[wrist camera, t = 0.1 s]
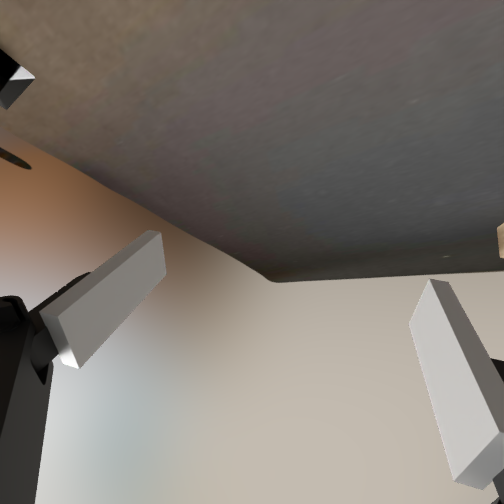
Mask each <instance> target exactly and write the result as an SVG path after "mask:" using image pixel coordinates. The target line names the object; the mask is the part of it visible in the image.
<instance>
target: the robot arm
mask: <svg viewBox="0 0 504 504" xmlns="http://www.w3.org/2000/svg"><path fill="white" fill-rule="evenodd" d="M166 274H167V273H166V266H165V259H164V251H163V244H162V237H161V232H157V231H151V230H147V231H146V232H145V233H144V234H142V235H141V236H139V237H138V238H137V239H135V240H134V241H133V242H132V243H130V244H129V245H128V246H126V247H125V248H123V249H122V250H121V251H119V252H118V253H117V254H115V255H114V256H113V257H112V258H110V259H109V260H108V261H106V262H105V263H103V264H102V265H101V266H99V267H98V268H97V269H95V270H94V271H93V272H88V273H85V274H83V275H81V276H78V277H76V278H75V279H73V280H72V281H71V282H69V283H68V284H67V285H66V286H64V287H62V288H61V289H60V290H59V291H58V292H55V293H54V294H53V295H51V296H50V297H49V298H47V299H46V300H44V301H43V302H42V303H40V304H39V305H38V306H36V307H35V308H33V309H32V310H31V311H29V312H28V311H27V309H26V307H25V305H24V303H23V300H22V299H21V298H20V297H18V296H3V297H0V504H35V497H36V490H37V483H38V476H39V468H40V461H41V454H42V446H43V439H44V432H45V424H46V418H47V411H48V404H49V396H50V389H51V382H52V375H53V362H52V360H53V359H54V358H55V357H56V356H57V355H58V354H59V356H60V358H61V361H62V363H63V364H65V365H68V366H71V367H75V368H78V369H80V368H81V367H82V366H83V365H84V363H85V362H86V361H87V360H88V359H89V358H90V357H91V356H92V355H93V354H94V352H96V350H97V349H98V348H99V347H100V346H101V345H102V344H103V343H104V342H105V341H106V340H107V338H108V337H109V336H110V335H111V334H112V333H113V332H114V331H115V330H116V329H117V328H118V326H119V325H120V324H121V323H122V322H123V321H124V320H125V319H126V318H127V317H128V316H129V315H130V314H131V312H132V311H133V310H134V309H135V308H136V307H137V306H138V305H139V304H140V303H141V301H143V299H144V298H145V297H146V296H147V295H148V294H149V293H150V292H151V291H152V290H153V289H154V287H155V286H156V285H157V284H158V283H159V282H160V281H161V280H162V279H163V278H164V276H165V275H166ZM409 327H410V331H411V334H412V338H413V341H414V345H415V348H416V352H417V355H418V359H419V362H420V365H421V369H422V373H423V376H424V380H425V383H426V387H427V390H428V394H429V397H430V401H431V404H432V408H433V411H434V415H435V418H436V422H437V424H438V429H439V432H440V436H441V439H442V443H443V446H444V450H445V453H446V456H447V460H448V464H449V467H450V470H451V474H452V477H453V481H455V482H458V483H461V484H465V485H468V486H471V487H474V488H478V489H481V490H483V489H484V488H485V487H487V486H488V485H489V484H490V483H491V482H492V481H493V482H494V484H495V487H496V489H497V492H498V495H499V497H498V498H497V499H496V500H495V501H494V502H492V503H491V504H504V361H501V360H496V359H491V358H490V357H489V355H488V353H487V351H486V350H485V348H484V346H483V344H482V342H481V341H480V339H479V337H478V335H477V333H476V331H475V330H474V328H473V326H472V324H471V322H470V321H469V319H468V317H467V315H466V313H465V311H464V310H463V308H462V306H461V304H460V303H459V301H458V299H457V297H456V295H455V293H454V291H453V290H452V288H451V286H450V284H449V282H445V281H439V280H434V279H429V280H428V282H427V284H426V287H425V289H424V291H423V293H422V296H421V298H420V300H419V302H418V304H417V307H416V309H415V311H414V313H413V315H412V318H411V320H410V322H409Z"/></svg>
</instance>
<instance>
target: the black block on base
mask: <svg viewBox="0 0 504 504" xmlns="http://www.w3.org/2000/svg"><path fill="white" fill-rule="evenodd" d="M34 79H35V77H34V76H33V75H32V74H30V73H29V72H28V71H27V70H26V69H24V68H23V67H22V66H21V65H19V64H18V63H17V62H16V61H15V60H13V59H12V58H11V57H10V56H8V55H7V54H6V53H5V52H3V51H2V50H1V49H0V106H1V107H3V108H4V109H6V110H7V109H8V108H9V107H10V106H11V105H12V104H13V102H14V101H15V100H16V99H17V98H18V97H19V96H20V95H21V94H22V93H23V91H24V90H25V89H26V88H27V87H28V86H29V85H30V84H31V83H32V81H33V80H34Z"/></svg>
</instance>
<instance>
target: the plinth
mask: <svg viewBox="0 0 504 504" xmlns="http://www.w3.org/2000/svg"><path fill="white" fill-rule="evenodd" d="M497 233H498V242H499V252H500V258H504V223H503V224H502V225H500V226H499V227H497Z"/></svg>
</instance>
